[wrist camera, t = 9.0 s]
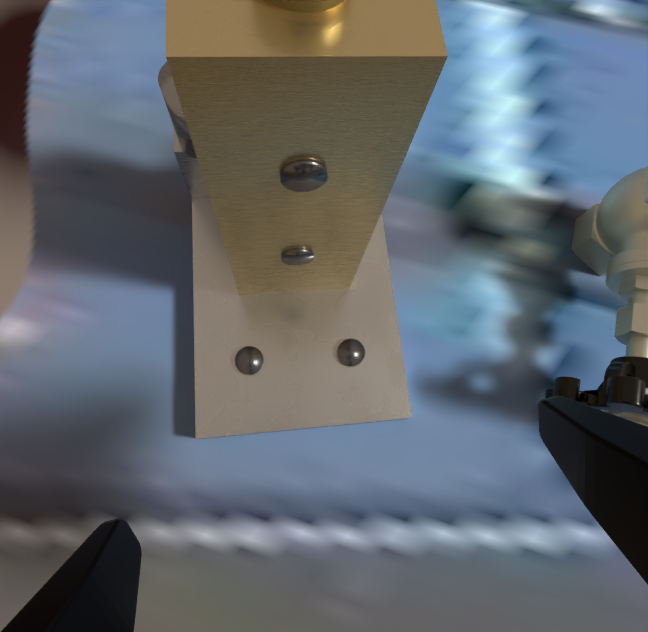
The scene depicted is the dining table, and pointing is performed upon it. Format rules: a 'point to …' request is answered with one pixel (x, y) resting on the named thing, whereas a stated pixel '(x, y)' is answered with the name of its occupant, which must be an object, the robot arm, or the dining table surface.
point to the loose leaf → (301, 124)
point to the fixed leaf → (286, 333)
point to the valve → (632, 286)
